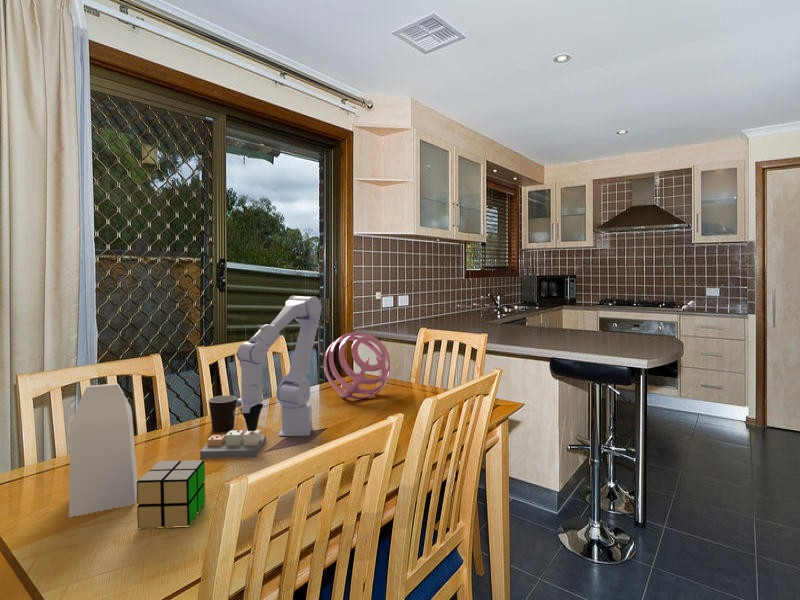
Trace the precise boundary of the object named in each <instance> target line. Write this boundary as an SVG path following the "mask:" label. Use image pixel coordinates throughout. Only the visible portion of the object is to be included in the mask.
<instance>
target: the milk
mask: <svg viewBox="0 0 800 600" xmlns="http://www.w3.org/2000/svg"><path fill="white" fill-rule="evenodd" d="M69 441H70V445H69V448H70V449H69V450H70V451H69V485H68V486H69V492H68V493H69V494H68V495H69V496H68V518H69V517H70V518H74V517H73V516H75V517H80V516H84V515H83V514H85V515H88V513H90V514H93V513H92V512H96V513H98V512H97V511H101V512H104V511H103V510H106V511H108V510H107V509H111V510H113V509H112V508H116V509H118V508H117V507H121V508H123V507H122V506H126V507H129V506H128V505H132V506H134V505H133V504H135V505H136V503H137V481H138V470H137V459H136V446H135V445H136V444H135V433H134V422H133V412H132V406H131V404H130V403H129V400H128V399H127V397H126V396H125V393H124V391H123V390H122V388H121V386H120V384H119V383H107V384H95V385H93V384H92V385H87V386H86V387H85V389H84V392H83V393H82V395H81V398H80V399H79V402H78V405H77V408H76V412H75V414H74V417H73V419H72V423H71V428H70V440H69ZM135 502H136V503H135ZM79 515H80V516H79Z"/></svg>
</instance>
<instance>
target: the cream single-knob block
mask: <svg viewBox="0 0 800 600" xmlns="http://www.w3.org/2000/svg"><path fill="white" fill-rule="evenodd" d="M261 432H262V431H261V429H256V431H248V429H246V431H245V432H244V433H243V435H244V446H250V445H259V443H260V442H261V435H262V434H261Z"/></svg>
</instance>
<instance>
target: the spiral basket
mask: <svg viewBox="0 0 800 600" xmlns="http://www.w3.org/2000/svg"><path fill="white" fill-rule="evenodd" d="M357 336H360V337H357ZM349 341H353V343H352V344H351V349H350V351H351V357H352V359H353V361H354V363H355V364H356V365H357V367H359V368H360V371H359V373H357V372H355V371H354V370H353V369H352V368H351V367H350V365H349V364H348V362H347V359H346V355H345V348H346V345H347V343H348V342H349ZM338 343H340V344H339V347H338V360H339V364H340V366H341V368H342V369H343V371H344V372H345V374H346V375H347V376H349V378H351V379H352V380H353V382H349V383H348V382H347V381H346V380H345V379H344V378H343V377H342V376H341V375H340V374H339V372H338V369H337V367H336V365H335V361H334V353H335V348H336V346H337V344H338ZM361 344H362V345H364V346H366V347H368V348H369V349H370V350H371V351H372V352H373V353H374V354H375V355H376V356H375V359H376V361H377V363H376V364H370V362H369V361H370V357H368V358H367V359H366V361H364V360H363V359H362V358H361V357H360V355H359V351H358V350H359V346H360V345H361ZM373 344H375V345H376V346H377V347H378V348H377V347H376V346H374V345H373ZM378 349H379V350H380V351H379V350H378ZM327 359H328V360H327ZM327 361H328V362H327ZM327 363H329V368H330V371H331V373H332V376H333V377H334V379H335V380H337V382H338V383H339V384H340V387H339V386H338V385H337V384H336V383H335V382H334V380H333V379H332V377H331V376H330V373H329V370H328V364H327ZM386 364H387V365H386ZM323 370H324V374H325V376H326V379H327V381H328V382H329V384H330V385H331V387H333V388H334V390H335V391H337V393H338V394H339V396H340V397H341V398H343V399H353V400H366V399H365V398H367V399H370V398H372V397H374V396H375V395H376V394H378V393H379V392H380V391H382V389H383V388H384V387H385V385H386V384H387V382H388V380H389V377H390V374H391V358H390V353H389V351H388V349H387V348H386V346H385V344H384V343H383V342H382V341H381V340H380V339H379V338H377V337H376V336H374V335H373V334H369V333H368V332H367V333H366V332H358V331H357V332H355V331H353V332H347V333H345V334H342V335H340V336H339V337H338V338H336V339H335V340H334V341H333V342H331V344H330V345H329V346H328V347H327V349H326V351H325V354H324V357H323ZM379 370H381V375H379V376H377V377H374V378H373V377H371V378H368V377H366V376H365V373H367V372H371V373H372V372H373V373H374V372H378V371H379ZM378 383H380V384H379V386H377V387H375V388H371V389H370V388H369V389H365V388H363V387H359V386H360V385H361V384H362V385H376V384H378ZM344 389H346V391H345V390H344ZM371 393H373V394H371ZM353 394H358V395H365V396H357V395H353ZM369 397H370V398H369Z"/></svg>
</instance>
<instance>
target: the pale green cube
mask: <svg viewBox="0 0 800 600" xmlns="http://www.w3.org/2000/svg"><path fill="white" fill-rule="evenodd" d="M225 435H226V446H240V445H241V444H242V443H243V435H244V430H243V429H242V430H241V429H237V430H235V429H233V430H230V431H228V432H226V434H225Z"/></svg>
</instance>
